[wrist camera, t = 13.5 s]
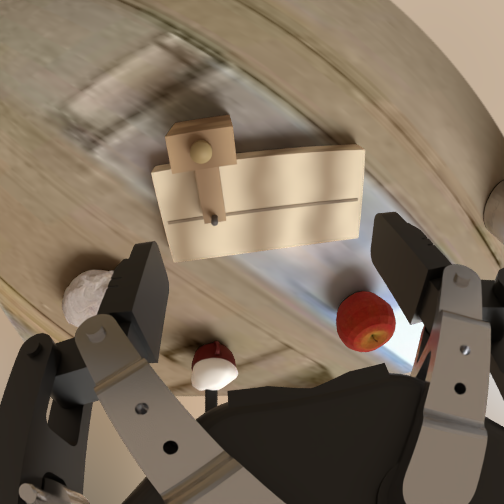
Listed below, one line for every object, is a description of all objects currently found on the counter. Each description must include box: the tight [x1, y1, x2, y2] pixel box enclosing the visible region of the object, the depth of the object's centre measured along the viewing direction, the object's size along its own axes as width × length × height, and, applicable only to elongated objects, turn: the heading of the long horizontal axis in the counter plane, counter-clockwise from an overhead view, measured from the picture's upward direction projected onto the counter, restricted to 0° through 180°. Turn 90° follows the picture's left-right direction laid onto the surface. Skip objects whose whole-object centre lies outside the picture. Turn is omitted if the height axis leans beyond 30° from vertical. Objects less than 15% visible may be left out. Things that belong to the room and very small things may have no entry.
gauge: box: [165, 115, 237, 226], centre depth 26 cm, size 5×9×7 cm, turn 5°
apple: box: [336, 291, 396, 352], centre depth 38 cm, size 8×8×8 cm
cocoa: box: [191, 341, 238, 413], centre depth 39 cm, size 10×6×12 cm, turn 144°
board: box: [151, 144, 365, 263], centre depth 30 cm, size 20×10×2 cm, turn 95°
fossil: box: [62, 270, 114, 327], centre depth 34 cm, size 12×4×10 cm
